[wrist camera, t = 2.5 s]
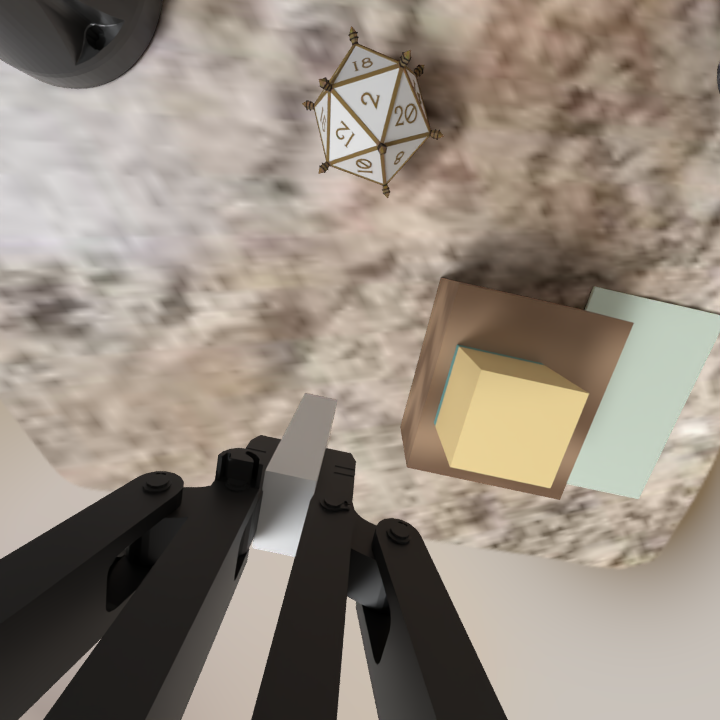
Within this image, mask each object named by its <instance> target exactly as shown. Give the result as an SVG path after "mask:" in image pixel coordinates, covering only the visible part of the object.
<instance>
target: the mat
mask: <svg viewBox="0 0 720 720" xmlns="http://www.w3.org/2000/svg"><path fill="white" fill-rule="evenodd" d="M585 310H586V311H590V312H594V313H598V314H602V315H606V316H609V317H613V318H617V319H621V320H625V321H629V322H633V323H634V324H633V327H632V329H631V331H630V334H629V336H628V338H627V341H626V343H625V346H624V348H623V350H622V353H621V355H620V358H619V360H618V362H617V365H616V367H615V369H614V372H613V374H612V377H611V379H610V381H609V384H608V386H607V388H606V391H605V393H604V396H603V398H602V400H601V403H600V405H599V408H598V410H597V412H596V415H595V417H594V419H593V422H592V424H591V427H590V429H589V431H588V434H587V436H586V438H585V441H584V443H583V446H582V448H581V450H580V453H579V455H578V457H577V460H576V462H575V465H574V467H573V469H572V472H571V474H570V477H569V479H568V481H567V484H570V485H574V486H579V487H584V488H588V489H593V490H598V491H602V492H607V493H612V494H616V495H621V496H626V497H631V498H635V499H639V497H640V495H641V493H642V491H643V489H644V487H645V485H646V483H647V481H648V479H649V477H650V475H651V473H652V471H653V468H654V466H655V464H656V462H657V460H658V458H659V456H660V454H661V452H662V450H663V448H664V446H665V444H666V442H667V440H668V438H669V436H670V434H671V431H672V429H673V427H674V425H675V423H676V421H677V419H678V417H679V415H680V413H681V411H682V409H683V407H684V405H685V403H686V401H687V399H688V396H689V394H690V392H691V390H692V388H693V386H694V384H695V382H696V380H697V378H698V376H699V374H700V372H701V370H702V368H703V366H704V364H705V361H706V359H707V357H708V355H709V353H710V351H711V349H712V347H713V345H714V343H715V341H716V339H717V337H718V335H719V333H720V315H717V314H713V313H708V312H704V311H700V310H695V309H691V308H686V307H682V306H678V305H673V304H669V303H665V302H660V301H656V300H651V299H647V298H643V297H638V296H634V295H629V294H625V293H621V292H616V291H612V290H608V289H603V288H599V287H594V286H593V289H592V292H591V294H590V297H589V299H588V302H587V305H586V307H585Z"/></svg>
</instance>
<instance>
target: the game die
mask: <svg viewBox="0 0 720 720" xmlns="http://www.w3.org/2000/svg"><path fill="white" fill-rule="evenodd" d="M357 33H358V32H356V31H355V30H354V29H353V27H352V26H351V29H350V34H349V36H350V41H351V42H352V47H351V49H350V50H349V52H348V53H347V55H346V56H345V58H344V59H343V61H342V62H341V64H340V65H339V67H338V68H337V70H336V71H335V73H334V74H333V76H332V78H331V79H330V81H329V80H327V78H326V77H325V78H323V79H319V82H320V87H321V88H323V89H324V90H323V91H322V93H321V94H320V96H319V97H318V99H317V100H316V102H315V103H312V102H311V101H310V102H309V101H308V100H307V101H306V102H304V103H302V104H303V105H304V106H305V107H306V109H307V110H308V109H310V111H311V110H312V109H314V111H315V115H316V119H317V124H318V128H319V132H320V137H321V141H322V145H323V149H324V154H325V158H326V162H325V163H322V165H321V166H320V168H319V173H323V172H324V173H325V172H326V170H328V167H329V166H331V167H334V168H337V169H339V170H342V171H345V172H347V173H350V174H353V175H356V176H358V177H361V178H364V179H367V180H369V181H372V182H375V183H377V184H380V185H382V186H383V189H382V190H383V194H384V195H385V196H386V197H387V198H388V196H389V193H390V191H389V187H388V185H387V184H388V183H389V182H390V180H391V179H392V178H393V177H394V176H395V175H396V174H397V172H398V171H399V170H400V169H401V168H402V167H403V166H404V165H405V163H406V162H407V161H408V160H409V159H410V158H411V157H412V155H413V154H414V153H415V152H416V151H417V150H418V149H419V148H420V146H421V145H422V144H423V143H424V142H425V141H426V140H427V138H428V137H429V136H431V137H433V138H436V139H438V138H441V137H444V136H443V134H442V133H441V132H440V130H439V131H438V130H436V129H435V130H431V128H430V124H429V121H428V117H427V113H426V110H425V106H424V102H423V99H422V95H421V91H420V87H419V84H418V80H417V76H420V74H423V68H424V65H418V66H417V68H415V69H414V72H413V71H412V70H410V69H409V68H408V67H407V66H406V65H407V64H408V62H409V61H410V59H411V50H409V51H407V52H403V53H402V56H401V57H400V58H401V60H400V61H398V60H395V59H393V58H391V57H388V56H386V55H384V54H381V53H379V52H376V51H374V50H372V49H369V48H367V47H365V46H362V45H360V44H358V37H357ZM319 173H318V174H319Z"/></svg>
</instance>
